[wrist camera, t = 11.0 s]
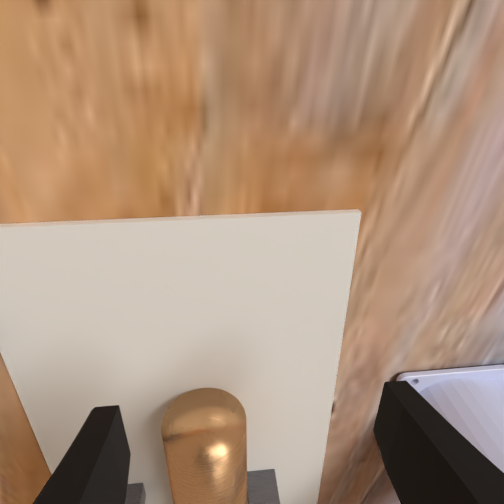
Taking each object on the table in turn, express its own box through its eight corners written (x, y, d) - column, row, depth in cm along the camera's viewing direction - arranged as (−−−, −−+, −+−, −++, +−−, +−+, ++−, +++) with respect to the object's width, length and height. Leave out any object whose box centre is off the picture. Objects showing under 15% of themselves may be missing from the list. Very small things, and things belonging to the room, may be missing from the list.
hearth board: (358, 209, 18) (361, 212, 18) (312, 523, 32) (313, 528, 32) (-46, 225, 17) (-52, 229, 16) (87, 550, 30) (85, 556, 30)
